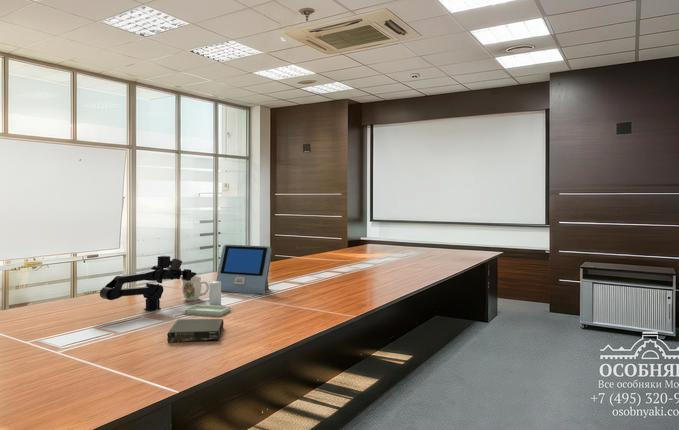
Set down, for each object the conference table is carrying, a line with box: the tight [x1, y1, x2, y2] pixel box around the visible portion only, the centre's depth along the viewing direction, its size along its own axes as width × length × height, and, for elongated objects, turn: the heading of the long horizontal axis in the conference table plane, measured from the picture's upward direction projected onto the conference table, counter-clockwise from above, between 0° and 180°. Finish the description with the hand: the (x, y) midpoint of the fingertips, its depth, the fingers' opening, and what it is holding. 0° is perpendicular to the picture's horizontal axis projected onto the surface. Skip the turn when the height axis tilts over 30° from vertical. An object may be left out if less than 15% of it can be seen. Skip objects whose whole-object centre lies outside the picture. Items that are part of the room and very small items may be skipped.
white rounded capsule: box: [208, 280, 222, 306], centre depth 260 cm, size 6×6×13 cm
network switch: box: [166, 318, 224, 343], centre depth 204 cm, size 23×23×5 cm
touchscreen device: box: [215, 244, 273, 295], centre depth 302 cm, size 35×20×30 cm, turn 73°
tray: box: [184, 303, 231, 317], centre depth 243 cm, size 20×12×2 cm, turn 80°
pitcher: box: [180, 275, 209, 302], centre depth 273 cm, size 11×18×14 cm, turn 90°
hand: (191, 272), depth 269 cm, fingers open, 9 cm apart
